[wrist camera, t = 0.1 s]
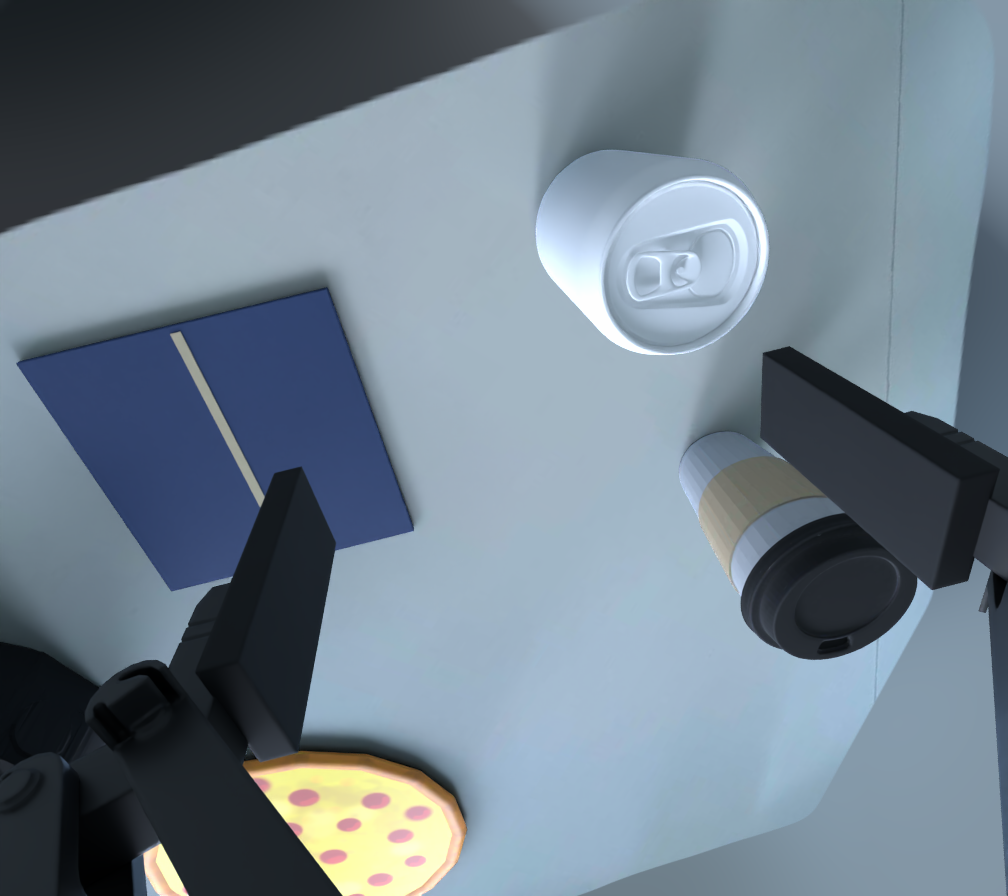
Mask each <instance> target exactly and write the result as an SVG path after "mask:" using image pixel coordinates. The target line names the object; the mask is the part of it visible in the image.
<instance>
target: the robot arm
mask: <svg viewBox="0 0 1008 896" xmlns="http://www.w3.org/2000/svg"><path fill="white" fill-rule="evenodd" d="M760 437H761V438H762V439H763V440H764V441H765V442H766V443H767V444H768V445H770V446H771V447H772V448H773V449H774V450H775V451H776V452H777V453H779V454H780V455H781V456H782V457H783V458H784V459H785V460H786V461H788V462H789V463H790V464H791V465H792V466H793V467H794V468H795V469H797V470H798V471H799V472H800V473H801V474H802V475H803V476H804V477H805V478H807V479H808V480H809V481H810V482H811V483H812V484H813V485H814V486H816V487H817V488H818V489H819V490H820V491H821V492H822V493H823V494H825V495H826V496H827V497H828V498H829V499H830V500H831V501H832V502H834V503H835V504H836V505H837V506H838V507H839V508H840V509H841V510H843V511H844V512H845V513H846V514H847V515H848V516H849V517H850V518H851V519H853V520H854V521H855V522H856V523H857V524H858V525H859V526H860V527H862V528H863V529H864V530H865V531H866V532H867V533H868V534H869V535H871V536H872V537H873V538H874V539H875V540H876V541H877V542H878V543H880V544H881V545H882V546H883V547H884V548H885V549H886V550H887V551H888V552H890V553H891V554H892V555H893V556H894V557H895V558H896V559H897V560H899V561H900V562H901V563H902V564H903V565H904V566H905V567H906V568H908V569H909V570H910V571H911V572H912V573H913V574H914V575H915V576H917V577H918V578H919V579H920V580H921V581H922V582H923V583H924V584H926V585H927V586H928V587H929V588H930V589H931V590H935V589H938V588H942V587H946V586H950V585H954V584H958V583H961V582H965V581H968V579H969V575H970V572H971V569H972V565H973V561H974V558H976V559H977V560H979V561H980V562H981V563H983V564H984V565H985V566H986V567H988V568H989V569H990V570H991V572H990V576H989V579H988V582H987V585H986V589H985V592H984V595H983V599H982V602H981V605H980V608H979V611H980V612H984V613H986V610H987V608H988V607H989V608H988V609H989V625H990V639H991V656H992V672H993V685H994V702H995V719H996V734H997V750H998V765H999V780H1000V797H1001V812H1002V828H1003V844H1004V859H1005V876H1006V891H1007V896H1008V457H1006V456H1004V455H1003V454H1001V453H999V452H997V451H996V450H994V449H992V448H990V447H988V446H986V445H985V444H983V443H981V442H979V441H974V438H972V437H970V436H968V435H967V434H965V433H963V432H958V429H956V428H954V427H952V426H950V425H949V424H947V423H945V422H943V421H941V420H940V419H938V418H934V417H931V416H928V415H924V414H921V413H917V412H914V411H910V412H906V413H903V412H901V411H900V410H898V409H896V408H894V407H893V406H891V405H889V404H888V403H886V402H884V401H882V400H881V399H879V398H877V397H876V396H874V395H872V394H870V393H869V392H867V391H865V390H864V389H862V388H860V387H858V386H857V385H855V384H853V383H851V382H850V381H848V380H846V379H845V378H843V377H841V376H839V375H838V374H836V373H834V372H833V371H831V370H829V369H827V368H826V367H824V366H822V365H821V364H819V363H817V362H815V361H814V360H812V359H810V358H809V357H807V356H805V355H803V354H802V353H800V352H798V351H796V350H795V349H793V348H791V347H790V346H789V347H785V348H781V349H776V350H772V351H768V352H764V353H763V366H762V398H761V431H760ZM335 547H336V541H335V539H334V537H333V534H332V532H331V530H330V528H329V526H328V523H327V521H326V519H325V517H324V515H323V512H322V510H321V508H320V506H319V504H318V501H317V499H316V497H315V495H314V492H313V490H312V488H311V486H310V484H309V481H308V479H307V477H306V475H305V473H304V470H303V468H302V466H301V467H297V468H293V469H289V470H285V471H281V472H276V473H274V475H273V477H272V480H271V482H270V485H269V487H268V490H267V492H266V495H265V497H264V500H263V502H262V505H261V507H260V510H259V513H258V515H257V518H256V520H255V523H254V525H253V528H252V530H251V533H250V535H249V538H248V540H247V543H246V545H245V548H244V550H243V553H242V555H241V558H240V560H239V563H238V565H237V568H236V570H235V573H234V575H233V578H232V580H231V583H227V584H223V585H219V586H215V587H212V588H211V590H210V591H209V592H208V593H207V594H206V595H205V596H204V597H203V599H202V600H201V601H200V602H199V603H198V604H197V605H196V608H195V610H194V612H193V614H192V617H191V619H190V621H189V623H188V625H189V627H187V628H186V630H185V632H184V634H183V636H182V639H181V640H182V643H179V645H178V648H177V650H176V652H175V654H174V656H173V659H172V661H171V663H170V665H169V668H168V667H167V666H166V665H165V664H164V663H162V662H160V661H158V660H145V661H142V662H139V663H136V664H133V665H130V666H129V667H127V668H125V669H123V670H122V671H120V672H118V673H116V674H115V675H114V676H112V677H111V678H110V679H109V680H108V681H106V682H105V683H104V684H103V685H102V686H101V687H100V688H99V689H98V690H97V692H96V693H95V694H94V695H93V696H92V698H91V699H90V701H89V703H88V705H87V708H86V710H85V722H86V723H87V724H88V725H89V727H90V728H91V729H92V730H93V731H94V732H95V733H96V734H97V735H98V736H99V737H100V738H101V739H102V740H103V742H104V743H105V744H106V745H105V746H103V747H101V748H99V749H97V750H95V751H93V752H91V753H89V754H87V755H85V756H83V757H81V758H79V759H77V760H75V761H73V762H71V763H69V764H68V763H67V762H66V761H65V760H64V759H63V758H62V757H61V756H60V755H57V754H55V753H53V752H47V753H40V754H36V755H34V756H32V757H29V758H27V759H25V760H23V761H21V762H19V763H18V764H16V765H15V766H13V767H12V768H11V769H9V770H8V771H6V772H5V773H4V774H3V775H1V776H0V896H147V889H146V878H145V867H144V856H143V854H144V853H145V852H147V851H149V850H151V849H152V848H154V847H156V846H158V845H159V844H162V846H163V848H164V850H165V852H166V853H167V855H168V857H169V859H170V861H171V863H172V865H173V867H174V869H175V870H176V872H177V874H178V876H179V878H180V880H181V882H182V884H183V886H184V888H185V889H186V891H187V893H188V895H189V896H343V895H342V894H341V893H340V891H339V890H338V889H337V887H336V886H335V885H334V883H333V882H332V881H331V880H330V878H329V877H328V876H327V874H326V873H325V872H324V870H323V869H322V868H321V867H320V865H319V864H318V863H317V861H316V860H315V859H314V857H313V856H312V855H311V854H310V852H309V851H308V850H307V848H306V847H305V846H304V844H303V843H302V842H301V841H300V839H299V838H298V837H297V835H296V834H295V833H294V831H293V830H292V829H291V828H290V826H289V825H288V824H287V822H286V821H285V820H284V818H283V817H282V816H281V815H280V813H279V812H278V811H277V809H276V808H275V807H274V805H273V804H272V803H271V802H270V800H269V799H268V798H267V796H266V795H265V794H264V792H263V791H262V790H261V789H260V787H259V786H258V785H257V783H256V782H255V781H254V779H253V778H252V777H251V776H250V774H249V773H248V772H247V770H246V769H245V768H244V766H243V762H244V758H245V754H246V750H247V747H249V748H250V749H251V751H252V752H253V754H254V755H255V756H256V758H257V759H258V761H259V762H264V761H268V760H272V759H276V758H280V757H284V756H288V755H292V754H295V753H298V750H299V744H300V739H301V733H302V728H303V722H304V717H305V711H306V706H307V700H308V695H309V690H310V684H311V679H312V673H313V668H314V662H315V657H316V651H317V646H318V640H319V635H320V629H321V624H322V618H323V613H324V607H325V602H326V596H327V591H328V586H329V580H330V575H331V569H332V564H333V558H334V553H335Z"/></svg>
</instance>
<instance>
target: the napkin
mask: <svg viewBox="0 0 1008 896" xmlns="http://www.w3.org/2000/svg"><path fill="white" fill-rule="evenodd" d="M16 364H17V366H18V367H19V369H20V370H21V371H22V373H23V374H24V376H25V377H26V379H27V380H28V382H29V383H30V385H31V386H32V388H33V389H34V391H35V392H36V393H37V395H38V396H39V398H40V399H41V401H42V402H43V404H44V405H45V407H46V408H47V410H48V411H49V413H50V414H51V416H52V417H53V418H54V420H55V421H56V423H57V424H58V426H59V427H60V429H61V430H62V432H63V433H64V435H65V436H66V438H67V439H68V440H69V442H70V443H71V445H72V446H73V448H74V449H75V451H76V452H77V454H78V455H79V457H80V458H81V460H82V461H83V462H84V464H85V465H86V467H87V468H88V470H89V471H90V473H91V474H92V476H93V477H94V479H95V480H96V482H97V483H98V484H99V486H100V487H101V489H102V490H103V492H104V493H105V495H106V496H107V498H108V499H109V501H110V502H111V504H112V505H113V506H114V508H115V509H116V511H117V512H118V514H119V515H120V517H121V518H122V520H123V521H124V523H125V524H126V526H127V527H128V528H129V530H130V531H131V533H132V534H133V536H134V537H135V539H136V540H137V542H138V543H139V545H140V546H141V548H142V549H143V550H144V552H145V553H146V555H147V556H148V558H149V559H150V561H151V562H152V564H153V565H154V567H155V568H156V570H157V571H158V573H159V574H160V575H161V577H162V578H163V580H164V581H165V583H166V584H167V586H168V587H169V589H170V590H171V591H175V590H179V589H183V588H187V587H191V586H195V585H199V584H203V583H207V582H211V581H215V580H219V579H223V578H227V577H231V576H233V575H234V573H235V570H236V568H237V565H238V563H239V560H240V558H241V555H242V553H243V550H244V548H245V545H246V543H247V540H248V538H249V535H250V533H251V530H252V528H253V525H254V523H255V520H256V518H257V515H258V513H259V510H260V507H261V505H262V502H263V500H264V497H265V495H266V492H267V490H268V487H269V485H270V482H271V480H272V477H273V475H274V473H276V472H281V471H285V470H289V469H293V468H297V467H301V466H302V468H303V470H304V473H305V475H306V477H307V479H308V481H309V484H310V486H311V488H312V490H313V492H314V495H315V497H316V499H317V501H318V504H319V506H320V508H321V510H322V512H323V515H324V517H325V519H326V521H327V523H328V526H329V528H330V530H331V532H332V534H333V537H334V539H335V541H336V547H335V550H339V549H343V548H347V547H351V546H355V545H359V544H363V543H367V542H371V541H375V540H379V539H383V538H387V537H391V536H395V535H399V534H403V533H407V532H411V531H414V527H413V524H412V521H411V519H410V516H409V513H408V510H407V508H406V505H405V502H404V499H403V496H402V494H401V491H400V488H399V485H398V482H397V480H396V477H395V474H394V471H393V468H392V466H391V463H390V460H389V457H388V455H387V452H386V449H385V446H384V443H383V441H382V438H381V435H380V432H379V429H378V427H377V424H376V421H375V418H374V415H373V413H372V410H371V407H370V404H369V402H368V399H367V396H366V393H365V390H364V388H363V385H362V382H361V379H360V376H359V374H358V371H357V368H356V365H355V362H354V360H353V357H352V354H351V351H350V349H349V346H348V343H347V340H346V337H345V335H344V332H343V329H342V326H341V323H340V321H339V318H338V315H337V312H336V309H335V307H334V304H333V301H332V298H331V295H330V293H329V290H328V288H327V287H326V288H322V289H318V290H314V291H310V292H306V293H302V294H297V295H293V296H289V297H285V298H281V299H277V300H272V301H268V302H264V303H260V304H256V305H252V306H247V307H243V308H239V309H235V310H231V311H227V312H222V313H218V314H214V315H210V316H206V317H202V318H197V319H193V320H189V321H185V322H181V323H177V324H173V325H168V326H164V327H160V328H156V329H152V330H148V331H143V332H139V333H135V334H131V335H127V336H123V337H118V338H114V339H110V340H106V341H102V342H98V343H93V344H89V345H85V346H81V347H77V348H73V349H68V350H64V351H60V352H56V353H52V354H48V355H44V356H39V357H35V358H31V359H27V360H23V361H19V362H18V363H16Z"/></svg>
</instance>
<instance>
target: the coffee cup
mask: <svg viewBox="0 0 1008 896" xmlns="http://www.w3.org/2000/svg"><path fill="white" fill-rule="evenodd" d="M679 478H680V482H681V485H682V487H683V489H684V491H685V493H686V495H687V497H688V499H689V501H690V502H691V504H692V506H693V508H694V510H695V512H696V514H697V516H698V518H699V522H700V525H701V528H702V530H703V532H704V533H705V535H706V537H707V539H708V541H709V543H710V545H711V546H712V548H713V550H714V552H715V554H716V556H717V558H718V560H719V561H720V563H721V565H722V567H723V569H724V571H725V573H726V575H727V576H728V578H729V580H730V582H731V584H732V585H733V587H734V588H735V590H736V591H737V592H738V593H739V594H740V595H741V612H742V616H743V618H744V620H745V622H746V624H747V625H748V627H749V628H750V629H751V630H752V631H753V632H755V633H756V634H757V636H758V637H759V638H760V639H761V640H763V641H764V642H766V643H767V644H769V645H771V646H773V647H776V648H779V649H783V650H784V651H786V652H787V653H789V654H791V655H793V656H795V657H798V658H802V659H809V660H821V659H829V658H835V657H839V656H842V655H846V654H849V653H851V652H854V651H856V650H858V649H861V648H863V647H864V646H866V645H868V644H870V643H872V642H873V641H875V640H876V639H878V638H879V637H881V636H882V635H883V634H885V633H886V632H887V631H888V630H890V629H891V628H892V627H893V626H894V625H895V624H896V623H897V622H898V621H899V620H900V618H901V617H902V616H903V615H904V613H905V612H906V611H907V609H908V608H909V606H910V604H911V602H912V600H913V598H914V595H915V592H916V588H917V576H915V575H914V574H913V573H912V572H911V571H910V570H909V569H908V568H906V567H905V566H904V565H903V564H902V563H901V562H900V561H899V560H897V559H896V558H895V557H894V556H893V555H892V554H891V553H890V552H888V551H887V550H886V549H885V548H884V547H883V546H882V545H881V544H880V543H878V542H877V541H876V540H875V539H874V538H873V537H872V536H871V535H869V534H868V533H867V532H866V531H865V530H864V529H863V528H862V527H860V526H859V525H858V524H857V523H856V522H855V521H854V520H853V519H851V518H850V517H849V516H848V515H847V514H846V513H845V512H844V511H843V510H841V509H840V508H839V507H838V506H837V505H836V504H835V503H834V502H832V501H831V500H830V499H829V498H828V497H827V496H826V495H825V494H823V493H822V492H821V491H820V490H819V489H818V488H817V487H816V486H814V485H813V484H812V483H811V482H810V481H809V480H808V479H807V478H805V477H804V476H803V475H802V474H801V473H800V472H799V471H798V470H797V469H795V468H794V467H793V466H792V465H791V464H790V463H788V462H786V461H784V460H782V459H780V458H777V457H775V456H774V455H772V454H771V453H769V452H768V451H766V450H765V449H763V448H762V447H760V446H759V445H757V444H756V443H754V442H753V441H751V440H750V439H748V438H747V437H745V436H743V435H742V434H740V433H736V432H730V431H723V432H716V433H713V434H709V435H707V436H705V437H702V438H701V439H699V440H697V441H696V442H695V443H693V444H692V445H691V446H690V447H689V448H688V450H687V451H686V452H685V454H684V456H683V458H682V460H681V463H680V468H679Z"/></svg>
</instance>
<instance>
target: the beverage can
mask: <svg viewBox="0 0 1008 896" xmlns="http://www.w3.org/2000/svg"><path fill="white" fill-rule="evenodd" d="M536 244H537V249H538V253H539V256H540V259H541V262H542V264H543V266H544V268H545V269H546V271H547V273H548V274H549V275H550V277H551V278H552V279H553V280H554V281H555V283H556V284H557V285H558V286H559V287H560V288H561V289H562V290H563V291H564V292H565V293H566V294H567V296H568V297H569V298H570V299H571V300H572V301H573V302H574V303H575V304H576V305H577V306H578V307H579V308H580V310H581V311H582V312H583V313H584V314H585V315H586V316H587V317H588V318H589V319H590V320H591V321H592V323H593V324H594V325H595V326H596V327H597V328H598V329H599V330H600V331H601V332H602V333H603V334H604V335H605V336H606V337H607V338H609V339H610V340H611V341H613V342H614V343H616V344H618V345H619V346H621V347H623V348H626V349H628V350H631V351H634V352H638V353H643V354H651V355H664V354H665V355H673V354H682V353H687V352H691V351H695V350H698V349H700V348H703V347H705V346H707V345H709V344H711V343H713V342H715V341H716V340H718V339H719V338H721V337H722V336H724V335H725V334H726V333H728V332H729V331H730V330H731V329H732V328H733V327H734V326H735V325H736V324H737V323H738V322H739V321H740V320H741V319H742V318H743V317H744V316H745V314H746V313H747V312H748V310H749V309H750V307H751V306H752V304H753V303H754V301H755V299H756V298H757V296H758V294H759V292H760V289H761V287H762V285H763V282H764V279H765V276H766V272H767V268H768V262H769V251H770V244H769V234H768V229H767V225H766V221H765V219H764V216H763V214H762V212H761V210H760V208H759V206H758V205H757V203H756V201H755V199H754V197H753V195H752V194H751V192H750V191H749V189H748V188H747V187H746V185H745V184H744V183H743V182H742V181H741V180H740V179H739V178H738V177H737V176H736V175H734V174H733V173H732V172H730V171H729V170H727V169H726V168H724V167H722V166H720V165H718V164H716V163H713V162H710V161H707V160H702V159H696V158H688V157H679V156H670V155H661V154H652V153H643V152H634V151H625V150H601V151H596V152H592V153H589V154H587V155H584V156H582V157H580V158H578V159H577V160H575V161H573V162H572V163H571V164H569V165H568V166H567V167H565V168H564V169H563V170H562V171H561V172H560V173H559V174H558V175H557V177H556V178H555V179H554V180H553V182H552V183H551V184H550V186H549V188H548V189H547V191H546V193H545V195H544V197H543V199H542V202H541V204H540V207H539V211H538V215H537V221H536Z"/></svg>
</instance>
